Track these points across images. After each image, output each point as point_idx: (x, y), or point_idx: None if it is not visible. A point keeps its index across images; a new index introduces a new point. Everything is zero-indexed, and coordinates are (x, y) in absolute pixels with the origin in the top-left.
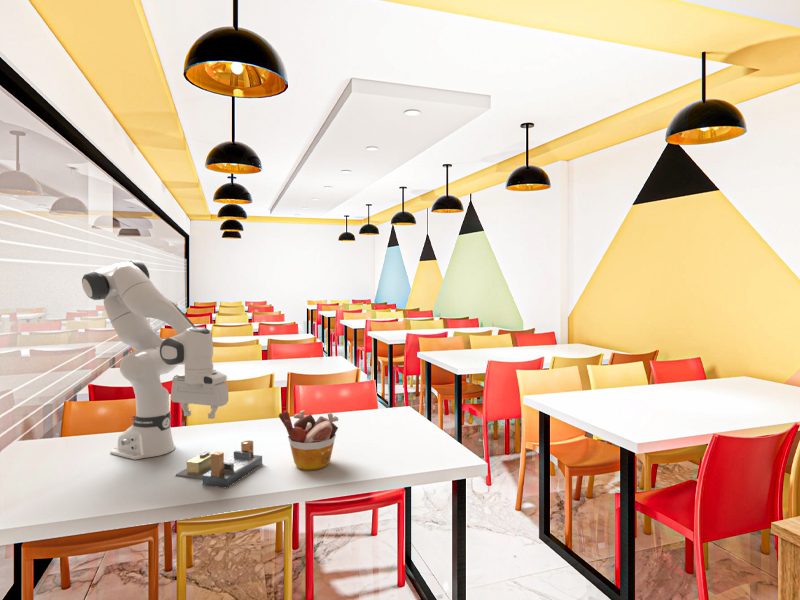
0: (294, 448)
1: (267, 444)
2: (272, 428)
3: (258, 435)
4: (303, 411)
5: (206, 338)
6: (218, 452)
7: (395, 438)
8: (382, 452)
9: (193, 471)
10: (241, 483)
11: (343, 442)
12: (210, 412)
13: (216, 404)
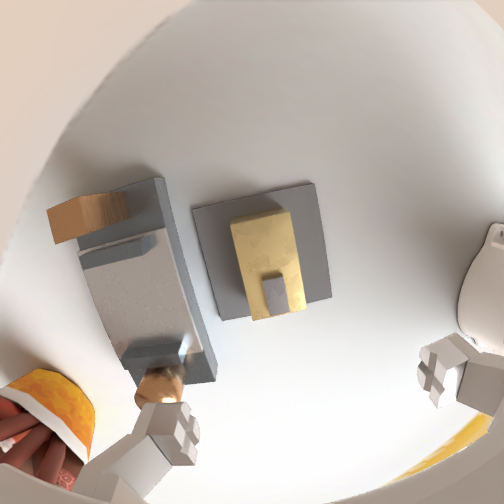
0: (28, 392)
1: (254, 455)
2: (319, 490)
3: (320, 468)
4: None
5: None
6: (67, 230)
7: None
8: None
9: (255, 214)
10: (79, 248)
11: None
12: (189, 458)
13: (13, 482)
